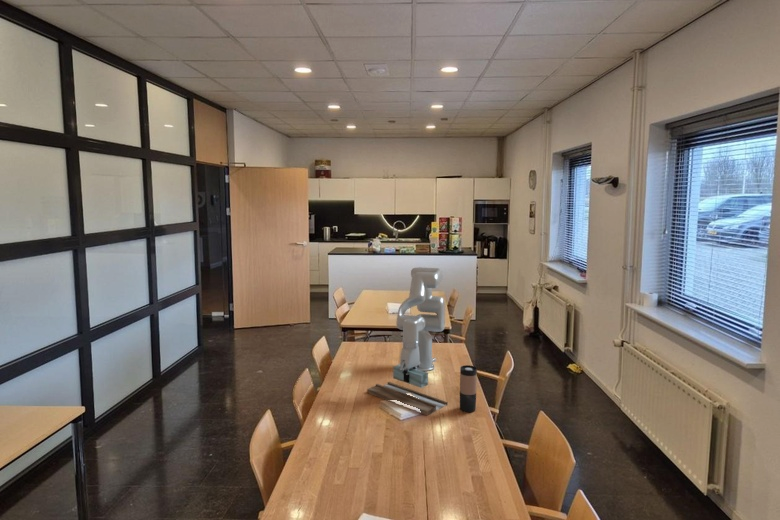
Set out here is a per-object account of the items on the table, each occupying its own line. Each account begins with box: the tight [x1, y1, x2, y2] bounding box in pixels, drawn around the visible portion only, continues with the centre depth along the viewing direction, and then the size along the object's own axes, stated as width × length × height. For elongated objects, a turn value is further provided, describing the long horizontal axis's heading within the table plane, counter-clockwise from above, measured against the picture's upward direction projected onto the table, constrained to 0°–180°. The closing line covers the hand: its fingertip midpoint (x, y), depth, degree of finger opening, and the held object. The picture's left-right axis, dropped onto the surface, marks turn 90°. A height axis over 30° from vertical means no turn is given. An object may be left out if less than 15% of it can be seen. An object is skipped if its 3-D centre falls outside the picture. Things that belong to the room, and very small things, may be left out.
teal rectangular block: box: [392, 363, 429, 388], centre depth 235 cm, size 5×18×6 cm, turn 48°
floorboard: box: [366, 381, 448, 416], centre depth 234 cm, size 16×38×3 cm, turn 47°
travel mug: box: [459, 364, 478, 414], centre depth 221 cm, size 8×8×20 cm
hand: (410, 380), depth 235 cm, fingers closed on teal rectangular block, 5 cm apart
